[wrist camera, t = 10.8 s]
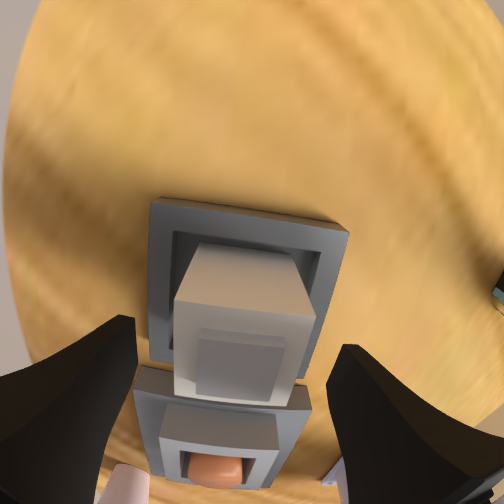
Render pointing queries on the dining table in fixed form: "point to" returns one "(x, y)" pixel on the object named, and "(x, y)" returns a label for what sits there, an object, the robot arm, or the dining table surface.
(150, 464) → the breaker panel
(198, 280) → the block
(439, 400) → the dining table surface
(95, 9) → the dining table surface
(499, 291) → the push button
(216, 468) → the button
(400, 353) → the dining table surface
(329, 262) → the tray
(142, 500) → the smoothie
